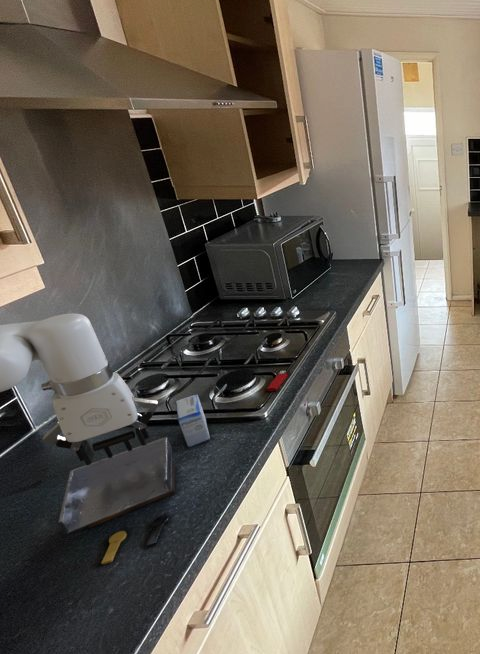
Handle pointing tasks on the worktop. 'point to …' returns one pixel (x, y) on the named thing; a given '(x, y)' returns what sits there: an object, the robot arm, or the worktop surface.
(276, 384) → the lighter
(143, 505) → the stand
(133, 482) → the steel dish
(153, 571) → the worktop surface
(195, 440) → the medicine box
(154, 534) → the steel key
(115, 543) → the brass key
